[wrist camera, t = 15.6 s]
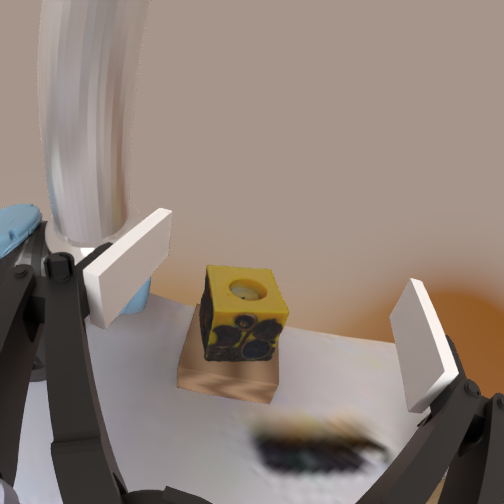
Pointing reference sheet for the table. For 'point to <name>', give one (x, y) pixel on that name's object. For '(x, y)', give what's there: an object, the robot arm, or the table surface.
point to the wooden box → (225, 371)
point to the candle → (240, 314)
